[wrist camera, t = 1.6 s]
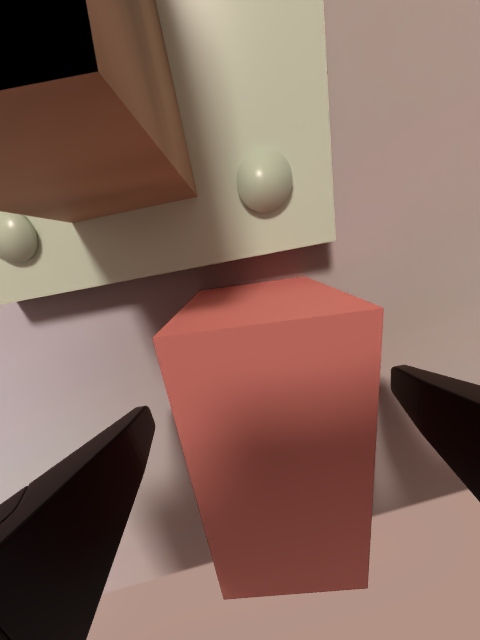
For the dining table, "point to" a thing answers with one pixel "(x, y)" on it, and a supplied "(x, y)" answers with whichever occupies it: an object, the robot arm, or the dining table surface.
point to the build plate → (190, 143)
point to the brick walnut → (96, 126)
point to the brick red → (278, 430)
